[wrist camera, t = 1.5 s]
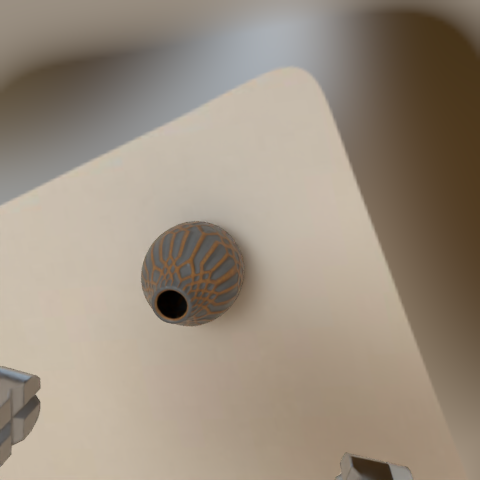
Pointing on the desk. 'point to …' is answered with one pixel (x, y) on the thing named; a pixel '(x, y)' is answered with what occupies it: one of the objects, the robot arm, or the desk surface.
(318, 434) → the desk surface
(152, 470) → the desk surface
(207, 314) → the vase
